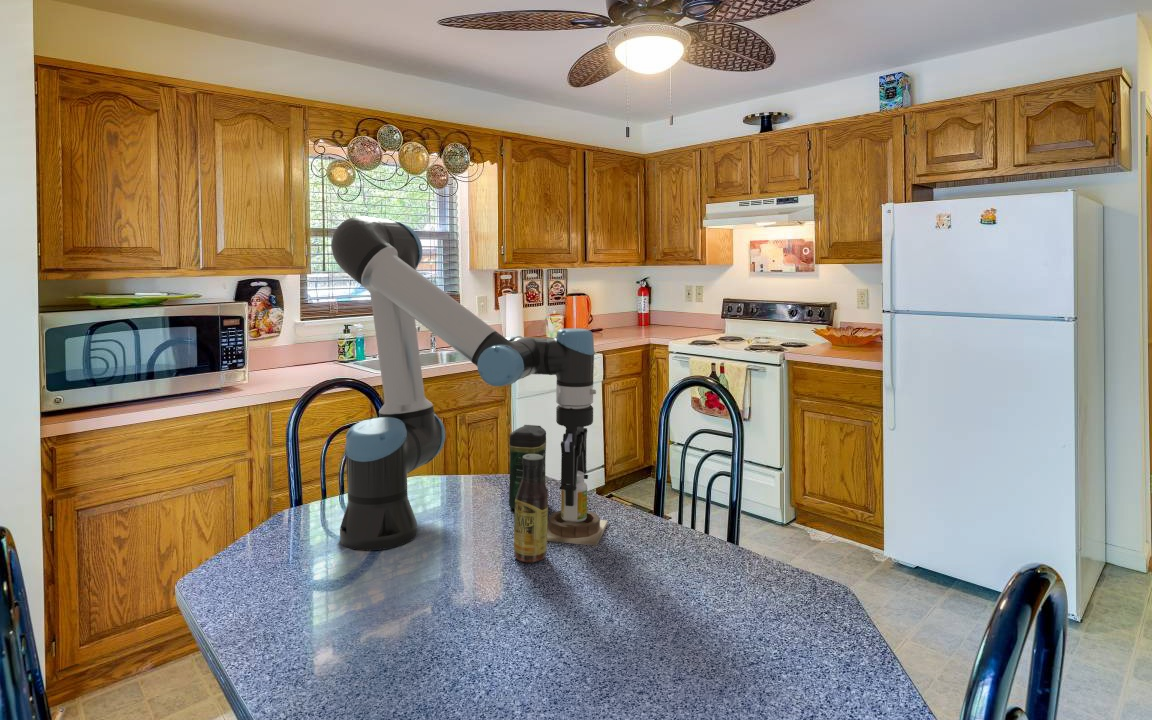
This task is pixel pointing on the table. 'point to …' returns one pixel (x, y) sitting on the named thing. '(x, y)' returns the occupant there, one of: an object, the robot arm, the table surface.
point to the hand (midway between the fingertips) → (573, 514)
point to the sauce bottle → (531, 512)
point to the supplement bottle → (581, 499)
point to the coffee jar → (520, 444)
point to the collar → (576, 529)
